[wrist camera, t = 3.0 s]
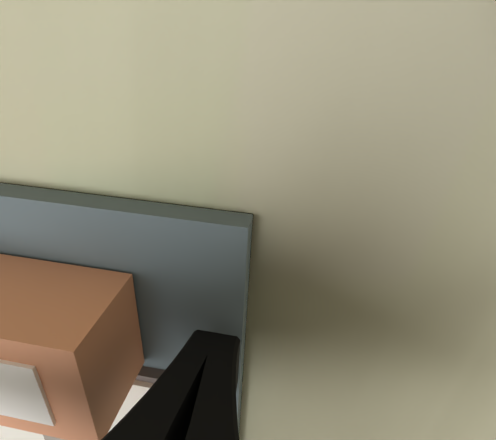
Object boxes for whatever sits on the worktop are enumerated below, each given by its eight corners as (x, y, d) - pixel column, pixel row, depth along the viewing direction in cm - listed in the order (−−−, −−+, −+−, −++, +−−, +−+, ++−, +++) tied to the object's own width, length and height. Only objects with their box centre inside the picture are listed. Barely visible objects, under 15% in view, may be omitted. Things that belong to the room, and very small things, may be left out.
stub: (144, 361, 13) (98, 450, 10) (-4, 334, 13) (-83, 410, 11) (132, 274, 11) (71, 355, 8) (-41, 247, 11) (-149, 314, 9)
